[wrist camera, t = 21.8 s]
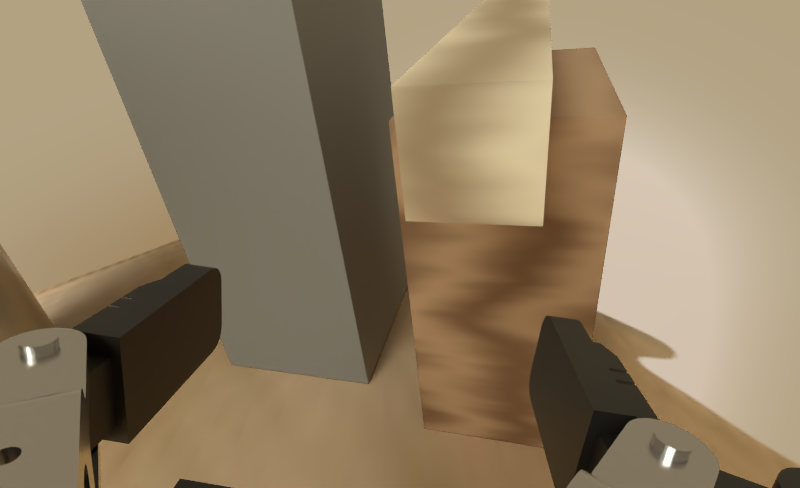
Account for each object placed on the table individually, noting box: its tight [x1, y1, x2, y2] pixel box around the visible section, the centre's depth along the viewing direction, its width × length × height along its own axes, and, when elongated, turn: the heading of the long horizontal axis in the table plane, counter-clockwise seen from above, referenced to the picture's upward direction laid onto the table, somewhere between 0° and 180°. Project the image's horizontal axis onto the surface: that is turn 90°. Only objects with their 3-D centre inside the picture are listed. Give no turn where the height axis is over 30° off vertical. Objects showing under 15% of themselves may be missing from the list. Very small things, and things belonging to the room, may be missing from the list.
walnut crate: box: [389, 48, 627, 448], centre depth 30 cm, size 10×14×21 cm
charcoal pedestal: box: [81, 0, 408, 384], centre depth 34 cm, size 12×14×32 cm
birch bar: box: [391, 0, 553, 226], centre depth 20 cm, size 4×23×4 cm, turn 165°
